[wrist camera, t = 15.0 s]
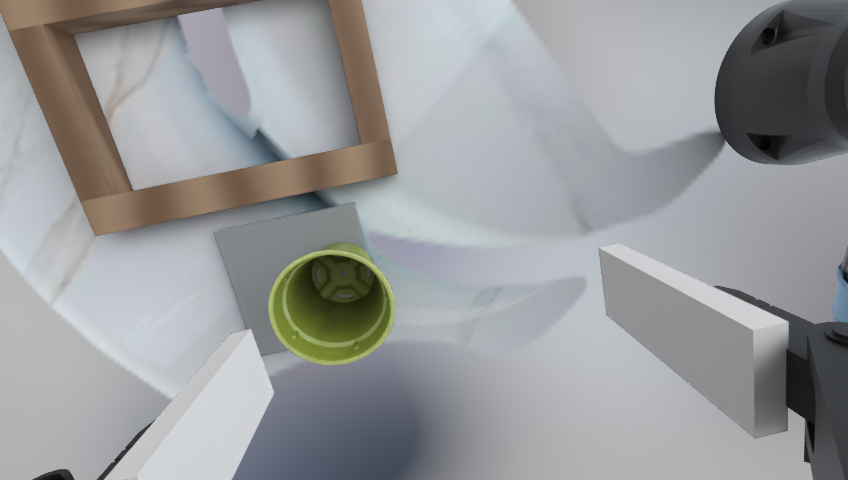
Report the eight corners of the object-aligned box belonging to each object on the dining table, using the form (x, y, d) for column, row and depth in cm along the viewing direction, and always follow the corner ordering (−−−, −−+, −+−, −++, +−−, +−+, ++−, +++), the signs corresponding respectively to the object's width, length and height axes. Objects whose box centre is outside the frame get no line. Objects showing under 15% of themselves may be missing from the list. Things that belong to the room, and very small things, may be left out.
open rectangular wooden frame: (348, -59, 33) (344, -78, 30) (396, 171, 38) (397, 173, 35) (25, -1, 32) (-11, -15, 29) (118, 228, 37) (95, 236, 34)
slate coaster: (354, 201, 38) (354, 203, 37) (384, 324, 41) (384, 328, 40) (218, 230, 37) (213, 232, 36) (259, 351, 41) (256, 357, 40)
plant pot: (397, 312, 40) (400, 357, 32) (302, 323, 39) (279, 373, 31) (387, 221, 38) (388, 244, 29) (285, 231, 37) (257, 257, 29)
